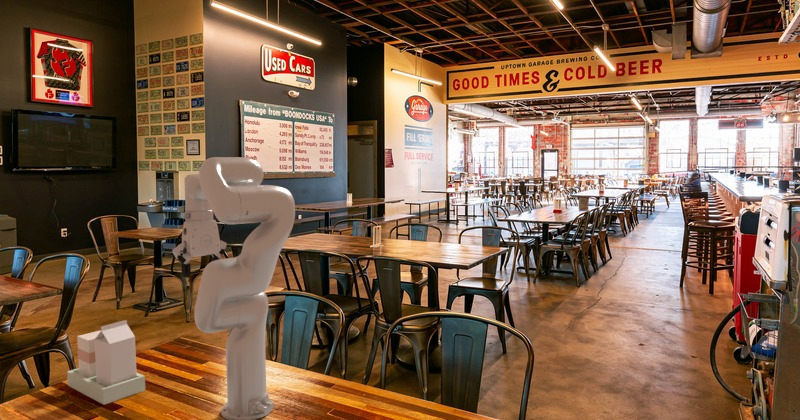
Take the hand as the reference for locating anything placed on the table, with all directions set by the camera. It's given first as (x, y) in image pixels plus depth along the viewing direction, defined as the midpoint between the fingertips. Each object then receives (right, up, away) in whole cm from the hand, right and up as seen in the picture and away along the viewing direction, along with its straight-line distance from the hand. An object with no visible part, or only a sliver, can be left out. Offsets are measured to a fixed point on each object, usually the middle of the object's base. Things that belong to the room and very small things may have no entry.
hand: (201, 274), depth 158 cm
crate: (-23, -31, -9) cm, 40 cm away
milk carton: (-19, -31, -12) cm, 38 cm away
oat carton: (-27, -30, -6) cm, 41 cm away
